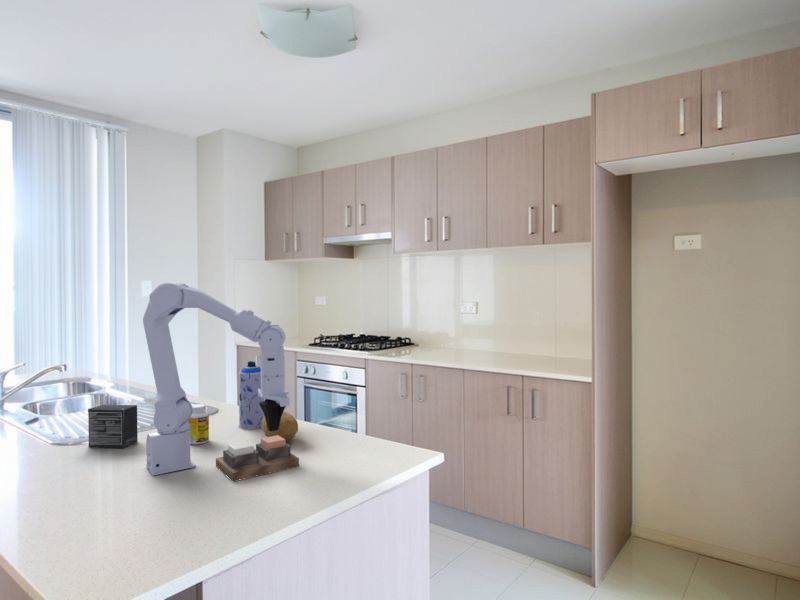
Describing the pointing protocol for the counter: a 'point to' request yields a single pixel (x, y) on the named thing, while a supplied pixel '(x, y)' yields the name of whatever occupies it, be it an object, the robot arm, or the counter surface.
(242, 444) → the cream key
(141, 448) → the counter surface
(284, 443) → the terracotta key
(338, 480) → the counter surface
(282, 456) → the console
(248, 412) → the aerosol can
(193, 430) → the supplement bottle
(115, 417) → the small box
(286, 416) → the potato
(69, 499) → the counter surface
